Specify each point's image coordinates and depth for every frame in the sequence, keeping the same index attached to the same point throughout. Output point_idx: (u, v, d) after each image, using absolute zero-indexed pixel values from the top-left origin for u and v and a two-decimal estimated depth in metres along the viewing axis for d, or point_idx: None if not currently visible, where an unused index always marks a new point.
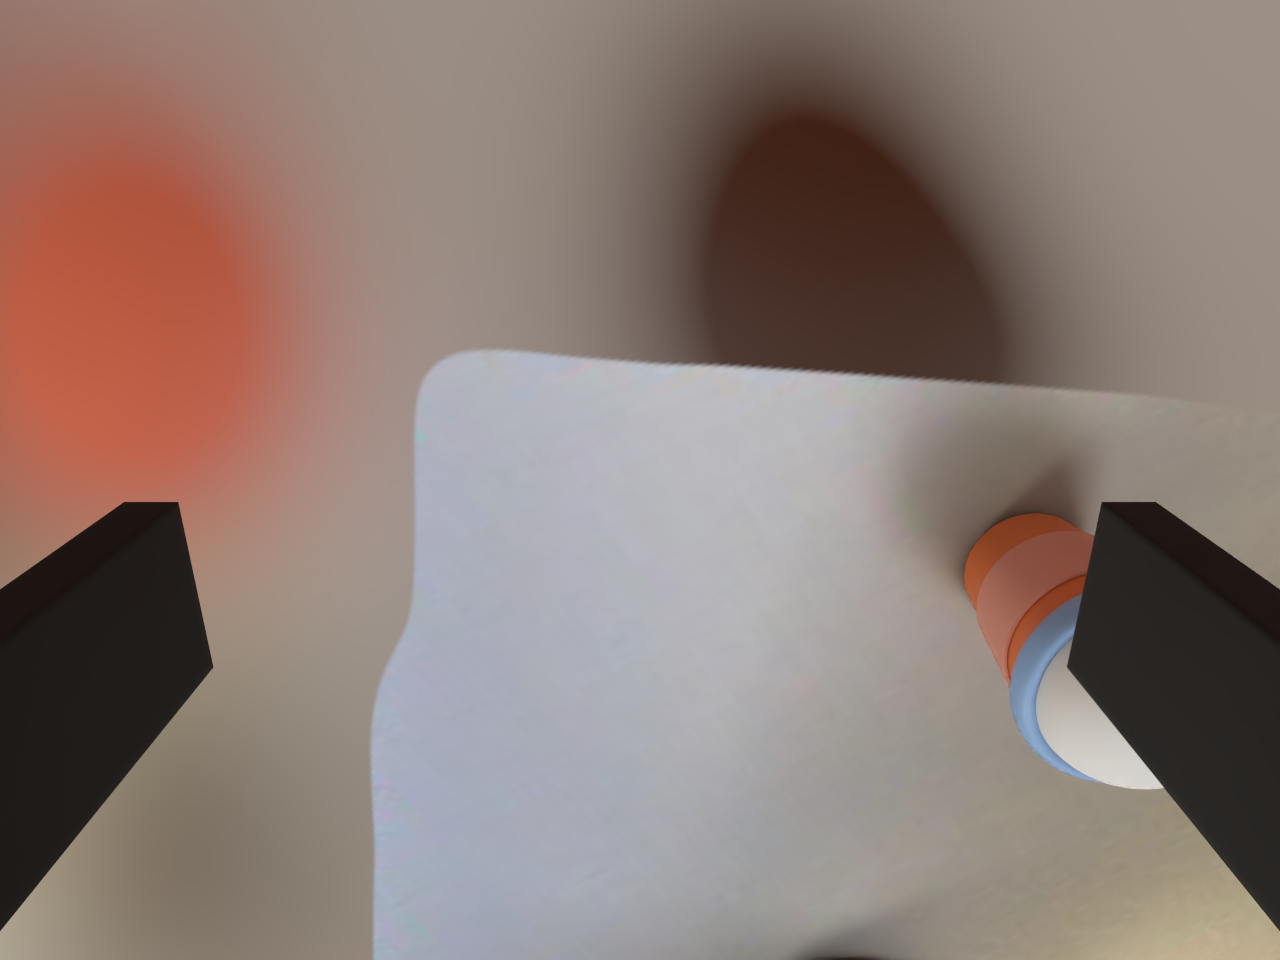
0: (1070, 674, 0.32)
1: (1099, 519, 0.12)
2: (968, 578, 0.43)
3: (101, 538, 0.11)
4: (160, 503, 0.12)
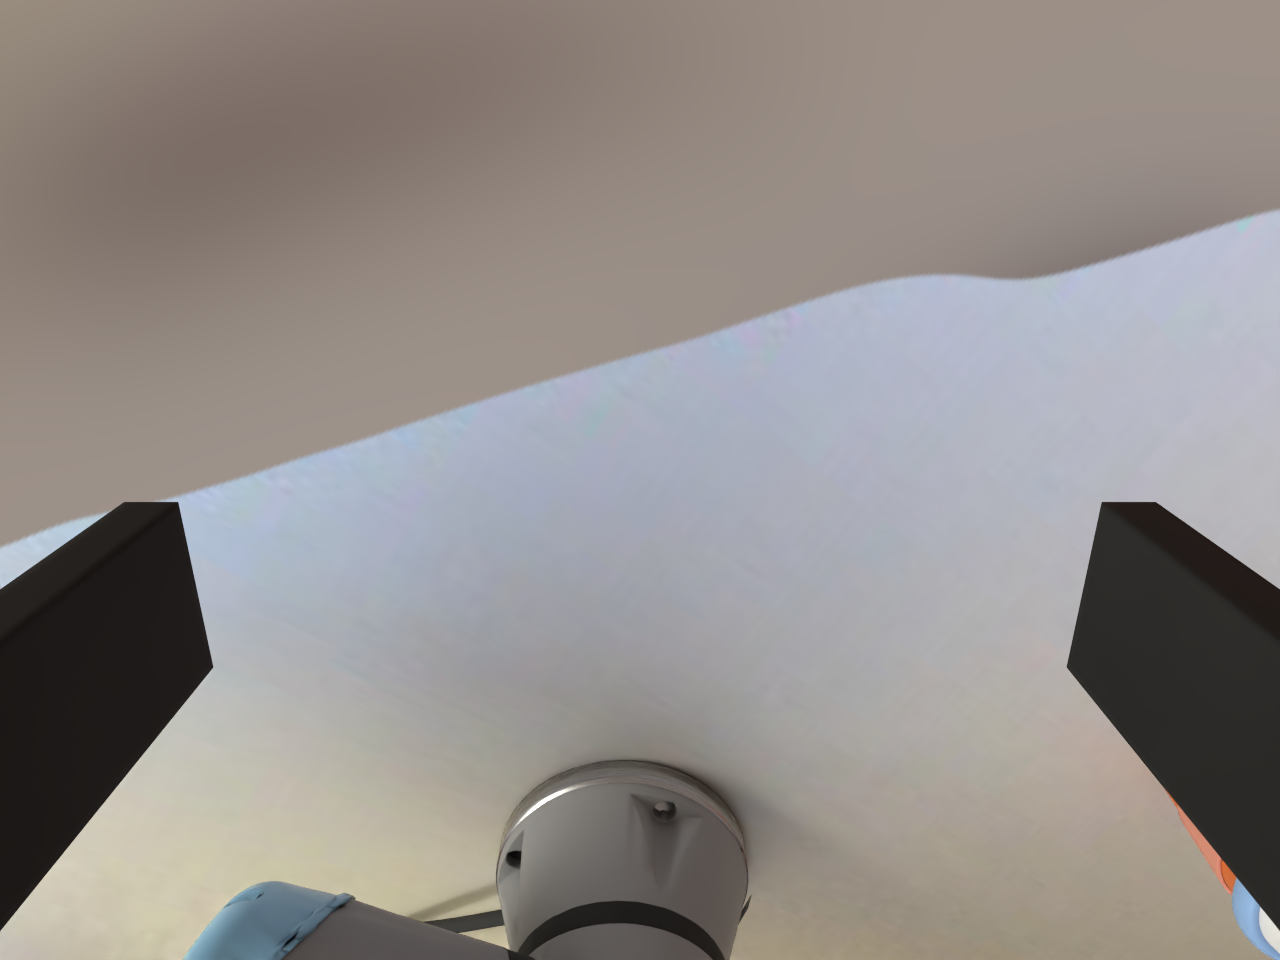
0: None
1: (1099, 520, 0.12)
2: None
3: (101, 538, 0.11)
4: (159, 502, 0.12)
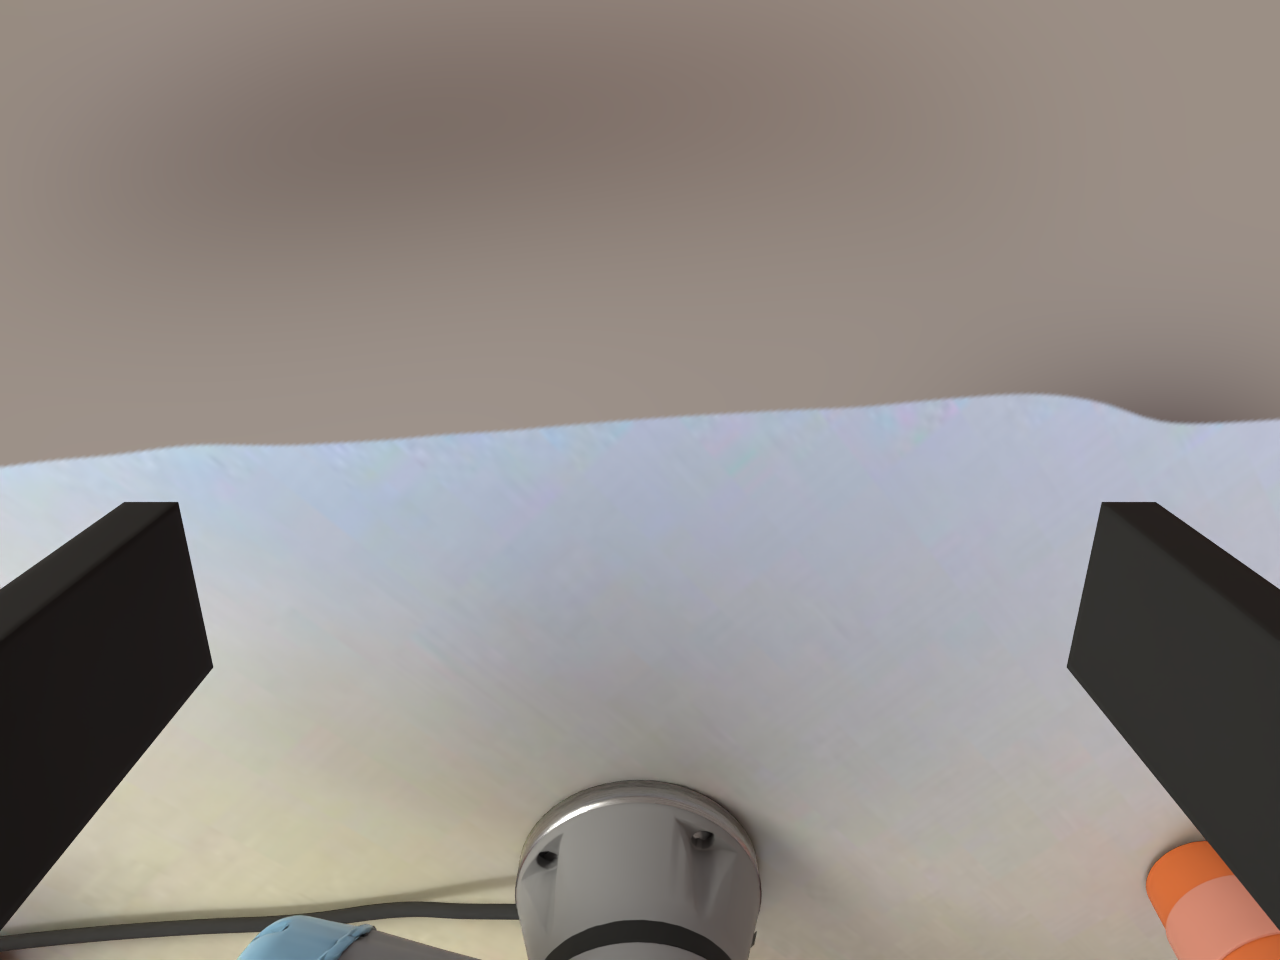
0: None
1: (1099, 520, 0.12)
2: (1203, 850, 0.53)
3: (101, 538, 0.11)
4: (159, 503, 0.12)
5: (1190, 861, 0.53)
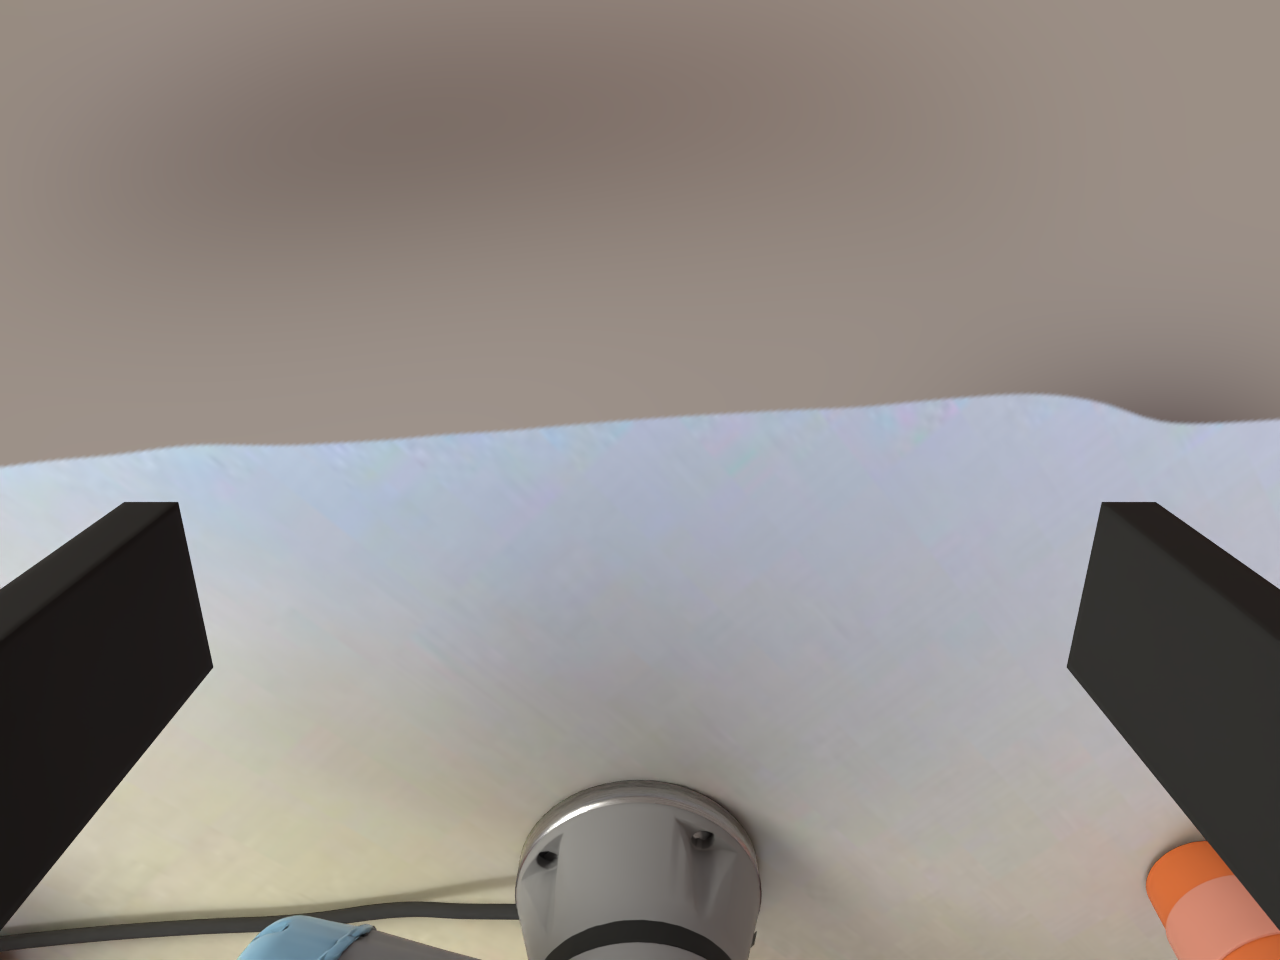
0: None
1: (1099, 520, 0.12)
2: (1203, 850, 0.53)
3: (101, 538, 0.11)
4: (159, 503, 0.12)
5: (1190, 861, 0.53)
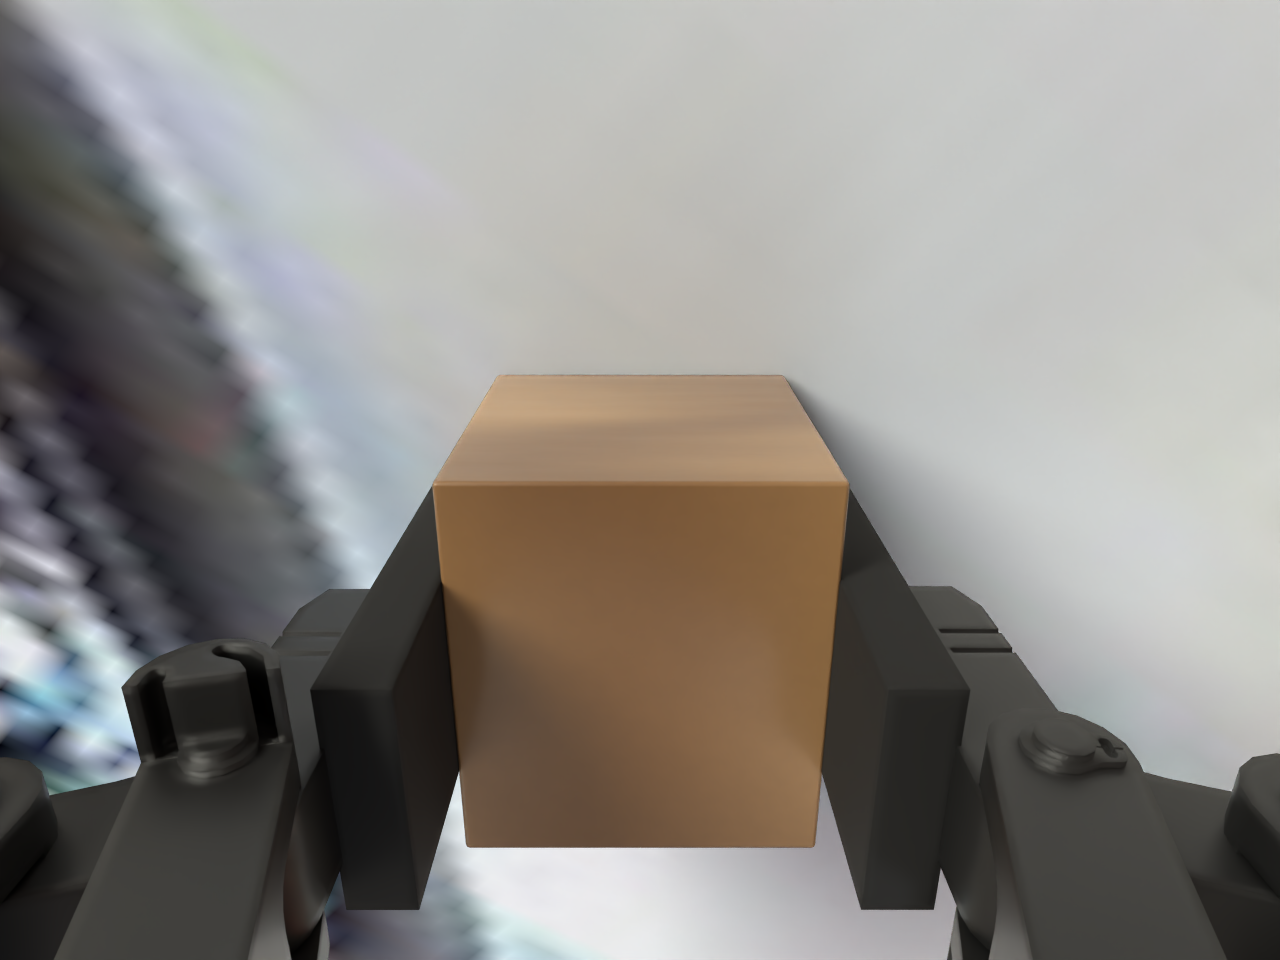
0: None
1: None
2: None
3: None
4: None
5: None
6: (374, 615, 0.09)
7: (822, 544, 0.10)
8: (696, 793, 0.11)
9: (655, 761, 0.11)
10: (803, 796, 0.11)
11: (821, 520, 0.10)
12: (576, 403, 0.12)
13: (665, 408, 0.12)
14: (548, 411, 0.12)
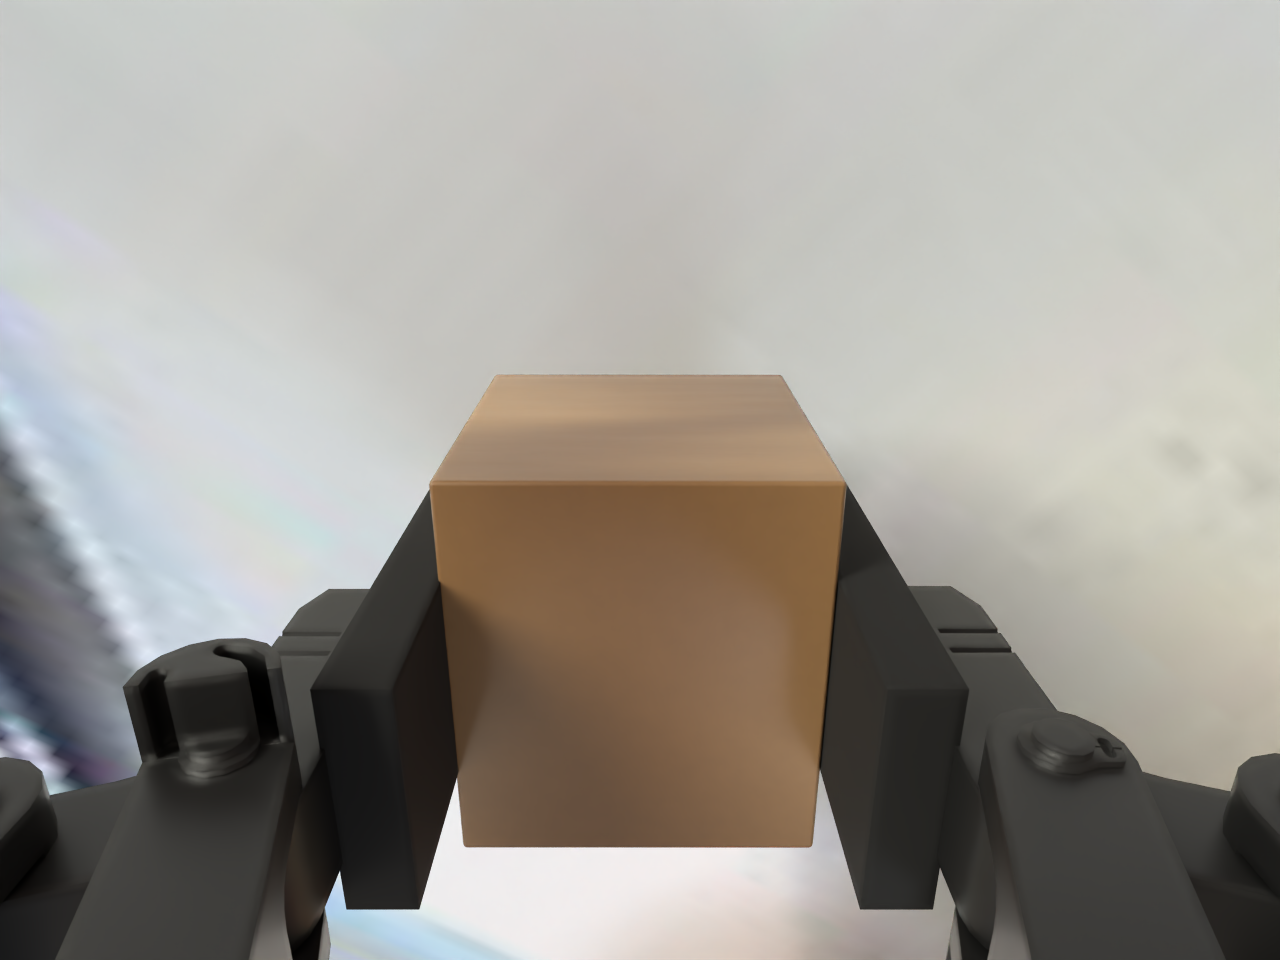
0: None
1: None
2: None
3: None
4: None
5: None
6: (374, 614, 0.09)
7: (819, 544, 0.10)
8: (693, 793, 0.11)
9: (652, 761, 0.11)
10: (800, 796, 0.11)
11: (818, 520, 0.10)
12: (574, 403, 0.12)
13: (664, 408, 0.12)
14: (545, 411, 0.12)
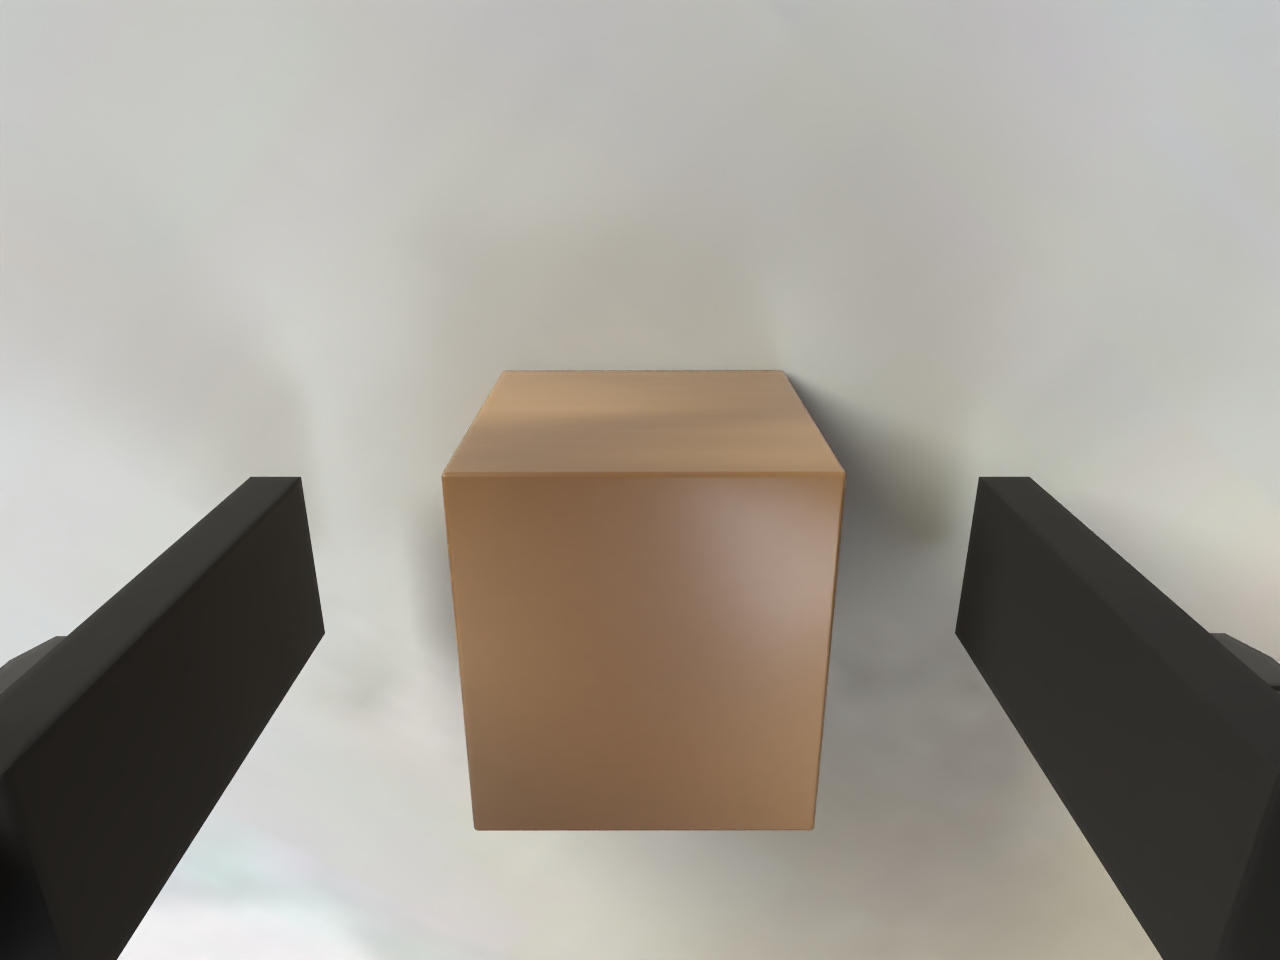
0: None
1: (977, 493, 0.13)
2: None
3: (242, 507, 0.12)
4: (284, 477, 0.13)
5: None
6: (40, 677, 0.08)
7: (820, 533, 0.10)
8: (698, 777, 0.11)
9: (658, 745, 0.11)
10: (802, 779, 0.11)
11: (819, 509, 0.10)
12: (580, 398, 0.13)
13: (668, 402, 0.12)
14: (552, 405, 0.12)
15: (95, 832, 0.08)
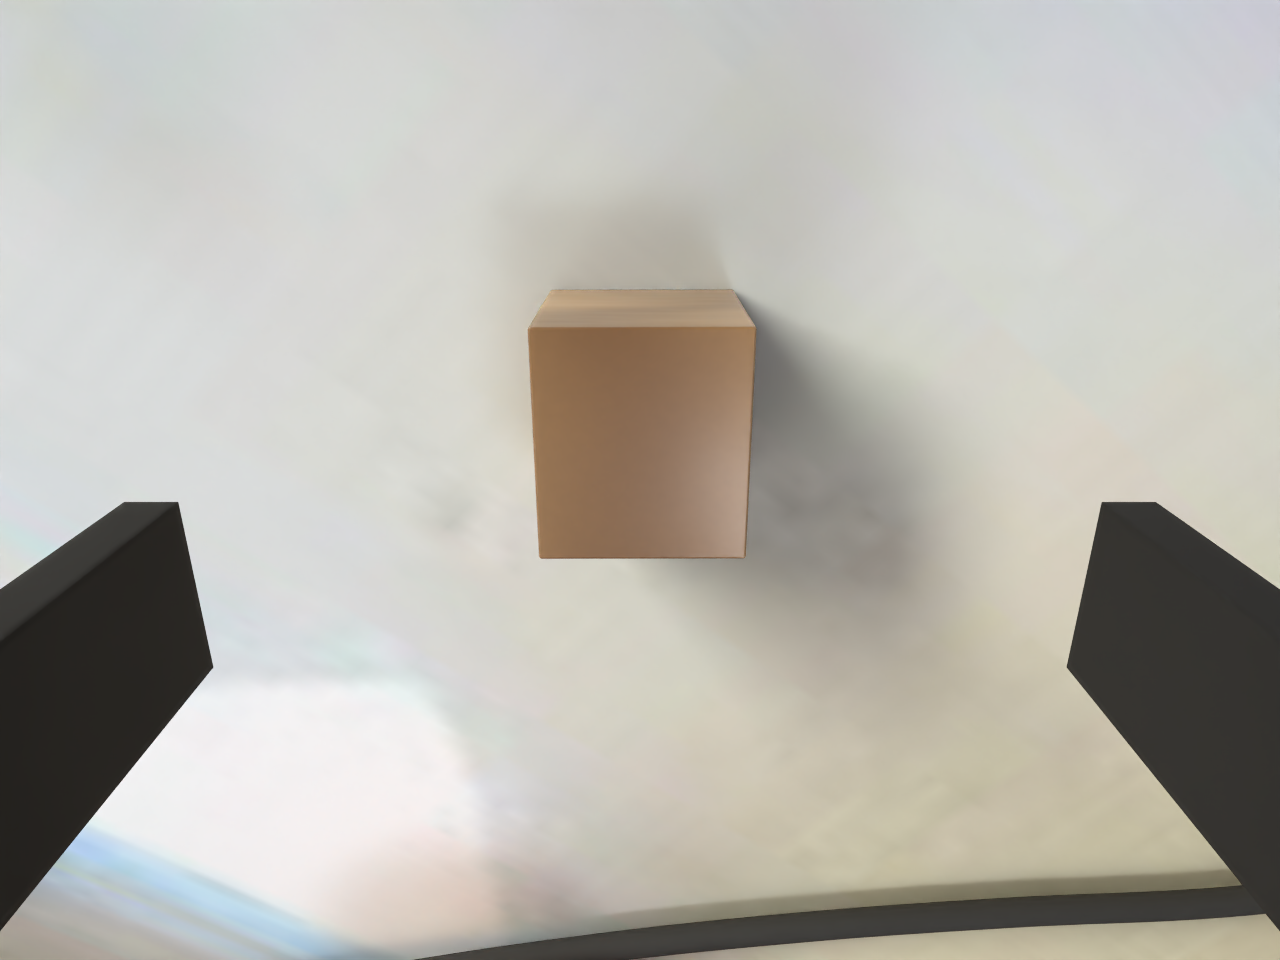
0: None
1: (1099, 519, 0.12)
2: None
3: (102, 538, 0.11)
4: (160, 503, 0.12)
5: None
6: None
7: (742, 363, 0.18)
8: (674, 521, 0.19)
9: (651, 499, 0.19)
10: (737, 523, 0.19)
11: (741, 349, 0.17)
12: (602, 300, 0.20)
13: (657, 302, 0.20)
14: (586, 303, 0.20)
15: None
